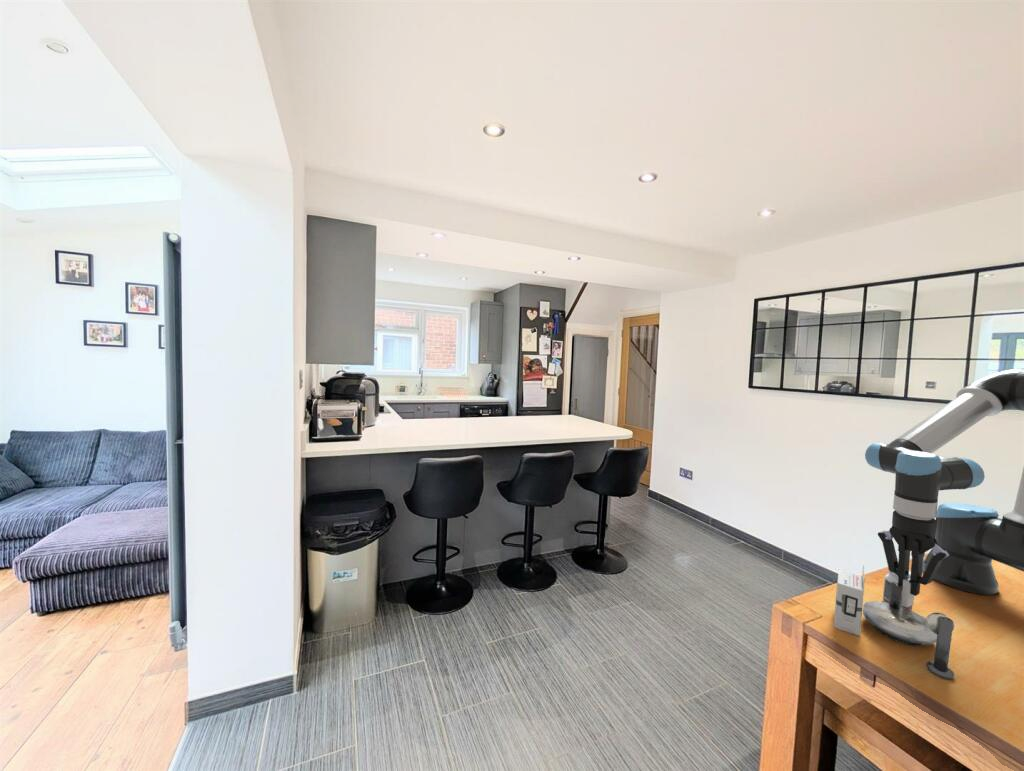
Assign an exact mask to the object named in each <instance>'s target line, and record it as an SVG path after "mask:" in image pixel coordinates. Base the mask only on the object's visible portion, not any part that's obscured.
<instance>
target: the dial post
mask: <svg viewBox="0 0 1024 771" xmlns="http://www.w3.org/2000/svg"><path fill="white" fill-rule="evenodd" d="M925 619H926V620H925V623H926V626H927V627H928V628H929V629H930V630H931V631H933V632H934V633H935V634H937V640H936V642H935V650H934V658H933V659H934V660H933V661H932V660H931V661H927V662H926V669H927V670H928V671H929V672H930V673H931V674H933V675H934V676H936V677H939V678H941V679H943V680H947V681H953V680H954V679H955V672H954V671H953V670H952V669H951V668H949V662H950V661H949V660H950V655H951V654H950V652H951V644H952V634H953V631H954V629H955V623H954V621H953V619H951V618H950V617H948V616H947V615H946V614H944V613H942V612H932V613H929V614H928V615H927V616H926V617H925Z"/></svg>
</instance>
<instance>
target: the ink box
mask: <svg viewBox="0 0 1024 771" xmlns="http://www.w3.org/2000/svg"><path fill="white" fill-rule="evenodd" d="M865 580H866V578H865V566H864V565H863V564H862V575H860V574H858V573H853V572H850V571H847V570H843V569H838V573H837V582H836V591H835V592H836V594H835V595H836V596H835V604H834V605H835V607H834V624H833V625H834V628H835V629H838V630H841V631H844V632H847V633H850V634H852V635H856V636H859V637H860V636H861V627H862V624H861V623H862V616H863V615H862V614H863V605H864V594H865V593H864V592H865Z"/></svg>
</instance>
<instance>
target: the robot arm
mask: <svg viewBox="0 0 1024 771" xmlns="http://www.w3.org/2000/svg"><path fill="white" fill-rule="evenodd" d="M1012 410H1013V411H1014V410H1015V411H1023V412H1024V368H1013V369H1006V370H1001V371H999V372H995V373H992V374H989V375H986V376H984V377H982V378H980V379H977V380H975V381H973V382H971V383H969V384H968V385H966V386H964V387H963V388H961V389H960V390H958V391H957V393H956V397H955V398H954V399H953V400H950V402H948V403H946V404H945V405H943V406H942V407H941V408H939V409H938V410H936V411H935V412H934V413H932V414H931V415H929V416H928V417H926V418H925V419H924V420H922V421H920V422H918V423H917V424H916V425H914V426H913V427H912V428H910V429H908V430H907V431H906V432H904V433H903V434H901V435H900V436H898V437H896V438H895V439H894V440H892V441H891V442H889V443H884V442H883V443H882V442H874V443H871V444H870V445H869V446H868V447H867V448H866V450H865V453H864V457H865V458H864V459H865V461H866V462H867V464H868V466H870V467H872V468H875V469H876V470H881V471H882V472H886V473H890V474H895V480H894V494H893V503H892V505H893V506H892V509H893V510H894V511H892V518H891V520H892V521H891V524H892V526H891V527H890V528H889V530H882V531H880V532H878V533H877V536H878V537H879V539H880V541H881V543H882V547H883V550H884V554H885V560H886V563H887V568H889V571H890V572H894V573H895V574H896V575H897V576H898V583H899V584H901V585H902V603H901V604H902V605H904V606H906V607H909V606H911V605H912V606H913V605H914V603H915V597H916V596H918V595H919V594H920V591H921V590H920V589H921V585H923V586H926V585H929V584H931V583H933V580H934V581H936V582H939V583H941V584H944V585H946V586H949V587H951V588H954V589H956V590H961V591H963V592H967V593H972V594H977V595H983V596H985V595H986V596H990V595H991V596H992V595H996V594H998V591H999V582H998V581H997V578H996V574H995V571H994V567H993V563H992V561H995V562H998V563H1000V564H1003V565H1005V566H1009V567H1011V568H1013V569H1016V570H1019V571H1021V572H1024V466H1023V468H1022V473H1021V477H1020V480H1019V485H1018V489H1017V494H1016V499H1015V502H1014V507H1013V510H1012V511H1010V512H1007V513H1006V512H1005V513H1004V514H1002V518H999V516H1000V514H999V512H998V511H997V510H996V509H995V510H994V509H993V508H989V507H986V506H981V505H976V504H967V503H959V502H957V503H956V502H946V503H945V502H944V503H941V504H938V503H939V502H938V501H939V491H946V490H947V491H948V490H949V491H950V490H967V489H972V488H976V487H979V486H980V485H981V484H982V483H983V482H984V480H985V472H984V469H983V468H982V466H981V465H980V464H979V463H978V462H976V461H974V460H972V459H970V458H967V457H959V456H958V457H957V456H954V457H946V456H940V455H937V454H935V452H936V451H938V450H939V449H941V448H942V447H944V446H945V445H946V444H948V443H949V442H951V441H952V440H954V439H955V438H957V437H959V436H960V435H961V434H962V433H964V432H966V431H967V430H968V429H970V428H971V427H973V426H974V425H975V424H977V423H978V422H980V421H981V420H983V419H984V418H986V417H992V416H993V417H994V416H996V415H999V413H1001V412H1003V411H1012ZM894 541H895V542H896V543H897V547H898V548H897V551H898V557H897V551H896V548H895V547H896V546H895V543H894ZM927 552H928V554H927V556H925V554H926V553H927ZM924 557H925V558H924ZM910 559H911V560H910ZM910 561H911V563H910ZM910 566H911V568H910ZM909 571H910V572H911V575H910V574H909ZM909 575H910V578H909V577H908V576H909Z"/></svg>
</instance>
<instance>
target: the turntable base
mask: <svg viewBox="0 0 1024 771" xmlns="http://www.w3.org/2000/svg"><path fill="white" fill-rule="evenodd" d="M872 625H873V624H872ZM873 627H874V628H875V629H876V631H878V632H879V633H880V634H883V635H884V636H886V637H887V638H888V639H889V638H890V639H892V640H893V641H895V642H898V643H901V644H904V645H909V646H915V647H916V646H918V647H919V646H923V645H924V644H920V643H914V642H910V641H907V640H903V639H900V638H898V637H895V636H893V635H891V634H888V633H886V632H884V631H883V630H881V629H879V628H877V627H876V626H874V625H873Z"/></svg>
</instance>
